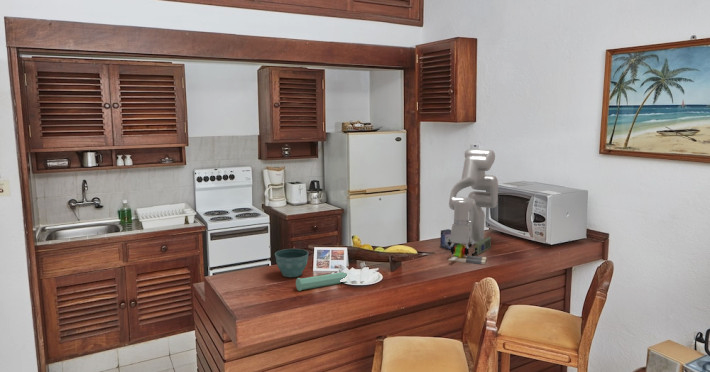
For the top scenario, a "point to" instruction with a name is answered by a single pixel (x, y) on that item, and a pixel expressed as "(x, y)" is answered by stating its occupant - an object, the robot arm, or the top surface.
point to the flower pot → (291, 261)
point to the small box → (444, 235)
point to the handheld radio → (482, 246)
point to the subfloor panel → (471, 259)
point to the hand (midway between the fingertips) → (459, 254)
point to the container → (319, 281)
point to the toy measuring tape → (458, 252)
